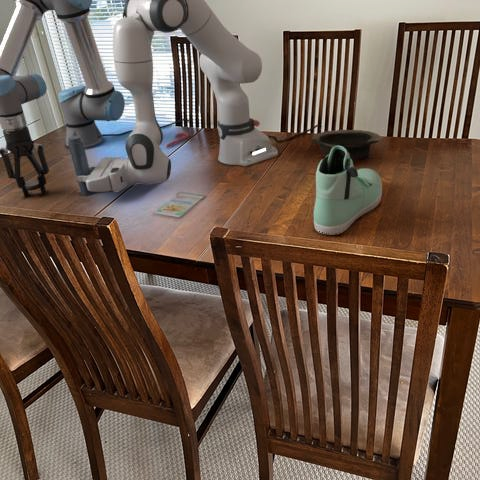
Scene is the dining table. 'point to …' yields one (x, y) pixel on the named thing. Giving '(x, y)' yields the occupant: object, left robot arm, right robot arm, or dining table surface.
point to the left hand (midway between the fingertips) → (35, 194)
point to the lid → (32, 185)
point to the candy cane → (185, 135)
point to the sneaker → (343, 192)
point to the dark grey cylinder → (79, 161)
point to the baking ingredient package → (179, 204)
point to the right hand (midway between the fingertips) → (81, 174)
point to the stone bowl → (347, 142)
